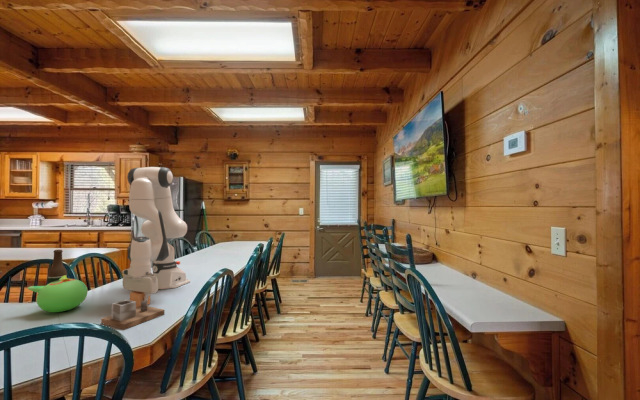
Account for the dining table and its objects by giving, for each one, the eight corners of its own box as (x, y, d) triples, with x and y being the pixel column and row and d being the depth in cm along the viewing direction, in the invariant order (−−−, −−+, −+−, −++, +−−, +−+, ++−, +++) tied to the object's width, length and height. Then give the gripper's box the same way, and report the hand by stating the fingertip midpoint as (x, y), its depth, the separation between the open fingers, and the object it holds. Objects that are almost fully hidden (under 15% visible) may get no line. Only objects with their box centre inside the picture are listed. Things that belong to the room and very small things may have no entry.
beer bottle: (44, 300, 152) (45, 251, 153) (50, 295, 159) (51, 249, 160) (63, 298, 155) (64, 250, 156) (69, 294, 163) (70, 248, 163)
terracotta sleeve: (141, 302, 152) (141, 289, 152) (150, 303, 149) (150, 291, 149) (129, 305, 146) (129, 293, 146) (138, 307, 144) (138, 294, 144)
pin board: (142, 309, 141) (142, 292, 141) (164, 314, 136) (164, 296, 136) (101, 323, 125) (101, 303, 125) (124, 329, 119) (124, 308, 119)
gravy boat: (56, 319, 128) (57, 283, 128) (24, 315, 132) (24, 281, 132) (95, 305, 146) (96, 274, 146) (66, 302, 149) (67, 272, 149)
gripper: (161, 272, 147) (161, 301, 146) (132, 268, 155) (132, 295, 155) (149, 275, 141) (149, 305, 141) (120, 270, 149) (119, 299, 149)
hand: (140, 300), depth 148 cm, fingers closed on terracotta sleeve, 6 cm apart
